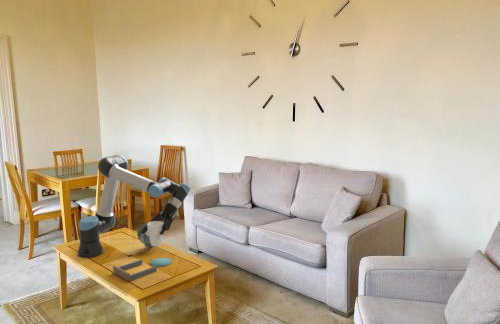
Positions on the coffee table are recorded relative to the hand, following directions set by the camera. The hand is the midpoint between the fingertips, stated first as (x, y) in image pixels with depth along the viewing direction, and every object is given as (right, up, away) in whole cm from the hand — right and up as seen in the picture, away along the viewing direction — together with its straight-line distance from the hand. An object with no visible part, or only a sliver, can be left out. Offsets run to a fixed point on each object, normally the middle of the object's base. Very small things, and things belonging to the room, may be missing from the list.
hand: (151, 237), depth 223 cm
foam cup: (+2, -5, +3) cm, 6 cm away
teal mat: (+4, -17, +8) cm, 19 cm away
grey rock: (-10, -14, +32) cm, 36 cm away
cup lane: (-8, -19, -5) cm, 21 cm away
